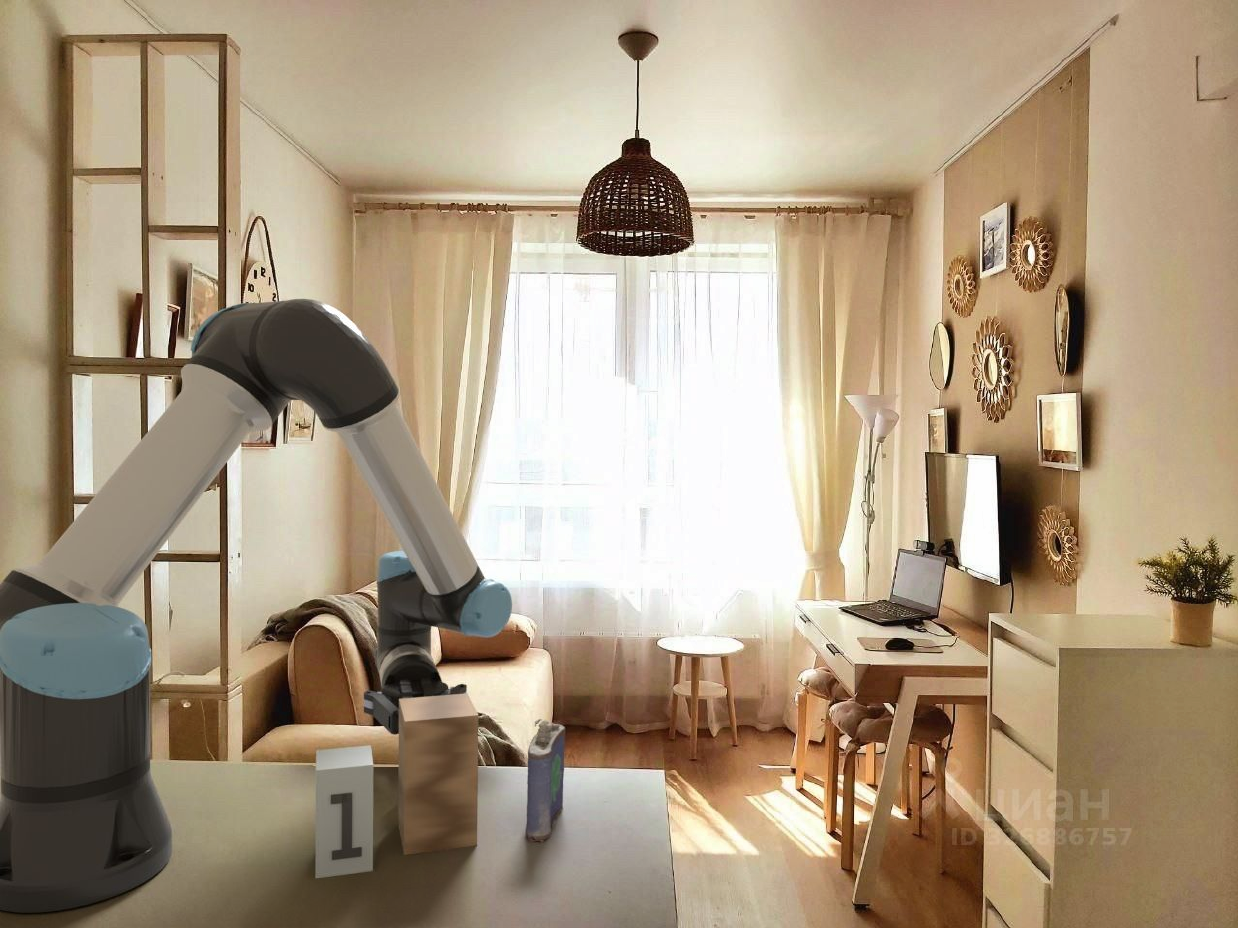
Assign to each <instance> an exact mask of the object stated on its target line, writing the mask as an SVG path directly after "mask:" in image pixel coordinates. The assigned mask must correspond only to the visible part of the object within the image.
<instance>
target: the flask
mask: <svg viewBox="0 0 1238 928" xmlns="http://www.w3.org/2000/svg"><path fill="white" fill-rule="evenodd" d="M537 725H538V727H539V728H538V729H537V732H536V734H535V735H534V736H533V737H532V739H531V741H530V744H529V747H528V749H527V781H526V782H527V783H526V784H527V789H526V790H527V791H526V793H527V796H526V797H527V800H526V826H525V836H526V839H528V841H531V842H536V841H537V842H538V841H539V842H541V843H542V842H544V841H545V840H546V839H549V838H550V836H552V830H553V829H554V828H555V826H556V819H558V818H559V817H558V815H559V814H561V811H562V810H563V809H564V807H563V806H564V805H563V804H564V775H565V741H566V740H565V739H566V727H565V726H564V725H563V724H559V723H554V722H551V723H550V722H549V721H548V720H547V719H541V718H538V719H537V720H535V721H534V727H537Z"/></svg>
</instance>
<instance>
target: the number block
mask: <svg viewBox="0 0 1238 928" xmlns="http://www.w3.org/2000/svg"><path fill="white" fill-rule="evenodd" d="M315 755H316V756H315V879H321V878H328V877H335V876H345V875H352V874H358V873H359V874H360V873H367V872H373V870H374V867H373V865H374V760H373V752H372V745H370V744H369V745H358V746H350V747H349V746H347V747H337V748H328V749H327V748H326V749H316V753H315Z"/></svg>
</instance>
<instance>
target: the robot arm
mask: <svg viewBox="0 0 1238 928" xmlns="http://www.w3.org/2000/svg"><path fill="white" fill-rule="evenodd" d="M190 351H191V357H190V358H189V359H188V360H187V362H186V363H184V366H183V367H181V370H180V376H181V381H182V384H183V388H182V390H181V391H180V392H179V394H178V395H177V396H176V398H175V399H174V400H173V401H172V403H171V404H170V405H169V406H168V407H167V409H166V410H165V411H164V412H163V413H162V414H161V416H159V418H158V419H157V420H156V422H155V423H154V424H153V425H152V427H150V429H149V430H148V432H147V433H145V435H144V436H143V437H142V439H141V440H140V441H139V442H138V444H137V445H136V446H135V447H134V448H133V450H132V451H131V452H130V453H129V454H128V455H127V456H126V457H125V459H124V460H123V461H122V463H121V464H120V465H119V466H118V468H117V469H116V470H115V471H114V472H113V474H112V475H111V476H110V477H109V479H107V480H106V482H105V483H104V484H103V485H102V487H101V488H100V489H99V490H98V492H97V493H96V494H95V495H94V496H93V497H92V498H91V500H90V501H89V503H87V505H86V506H85V507H84V508H83V509H82V511H81V512H80V513H79V515H78V516H77V517H76V518H75V519H74V520H73V522H72V523H71V524H70V525H69V527H67V529H66V530H65V531H64V532H63V534H62V535H61V536H60V538H59V539H58V540H57V541H56V542H55V543H54V544H53V546H52V547H51V548H50V549H49V550H48V552H47V553H46V554H45V556H43V557H42V559H41V560H40V561H38V562H36V563H32V564H26V565H23V566H22V565H21V566H17V567H14V568H13V569H12V570H11V571H10V572H9V573H8V574H7V575H6V577H5V578H4V579H3V580H2V581H1V582H0V791H1V792H0V793H1V794H0V910H1V911H5V912H11V913H23V914H24V913H25V914H27V913H28V914H30V913H31V914H32V913H46V912H56V911H58V912H59V911H64V910H68V909H74V908H78V907H80V908H81V907H82V906H83V907H84V906H87V905H88V906H89V905H92V904H95V903H98V902H101V901H104V900H107V899H110V898H114V897H115V896H118V895H120V894H123V893H125V892H127V891H128V892H129V890H132V889H134V888H136V887H139V886H140V885H141V884H143V883H145V882H147V881H149V880H150V879H151V878H153V877H154V876H156V874H158V873H159V872H160V871H161V870H162V869H163V868H165V866H167V864H168V862H169V861H170V858H171V856H172V853H173V833H172V832H173V830H172V826H171V822H170V820H169V818H168V815H167V812H166V809H165V807H164V805H163V803H162V799H161V797H160V794H159V793H158V789H157V787H156V785H155V781H154V779H153V777H152V773H151V667H152V660H153V659H152V649H151V647H150V642H149V641H150V639H149V632H148V628H147V624H146V623H145V622H144V620H143V619H142V617H140V616H139V615H138V614H135V613H134V612H133V611H130V610H128V609H126V608H124V607H119V604H120V603H121V602H122V600H123V599H124V598H125V596H126V595H127V594H128V593H129V591H130V590H131V588H132V587H133V586H134V584H136V582H137V581H138V579H139V578H140V577H141V576H142V574H143V572H145V570H146V569H147V567H148V566H149V565H150V563H151V562H152V561H153V560H154V558H155V557H156V555H157V554H158V553H159V552H160V551H161V549H162V548H163V547H164V545H165V544H166V542H167V541H168V540H169V539H170V537H171V536H172V535H173V533H175V531H176V529H177V528H178V527H179V525H180V524H181V523H182V521H183V520H184V519H185V517H186V516H187V515H188V514H189V512H190V511H191V510H192V509H193V507H194V506H195V504H196V503H197V502H198V501H199V499H200V498H201V497H202V495H203V494H204V493H205V492H206V490H207V489H208V487H209V486H210V485H211V484H212V482H213V481H214V480H215V478H216V477H217V475H219V473H220V472H221V470H222V469H223V468H224V466H225V465H226V464H227V462H228V461H229V460H230V458H231V457H232V456H233V454H235V452H236V451H237V449H238V448H239V447H240V445H241V444H242V443H243V442H244V440H245V439H246V438H247V436H248V435H249V434H250V433H254V432H255V433H256V432H263V431H268V430H269V429H270V428H271V427H272V426H273V424H274V423H275V421H276V420H277V419H278V417H279V416H280V415H281V413H282V412H283V411H284V409H285V408H286V407H287V405H288V404H289V403H290V402H291V401H301V402H303V403H304V404H305V405H307V406H308V407H309V408H310V409H311V410H313V411H314V413H315V415H316V416H317V418H318V419H319V421H320V423H321V424H322V426H323V428H324V429H325V430H326V431H330V432H334V433H336V434H337V435H338V437H339V438H340V441H341V442H342V444H343V445H344V447H345V449H346V451H347V452H348V455H349V456H350V458H351V459H352V461H353V463H354V465H355V467H356V468H357V470H358V472H359V474H360V476H361V477H362V480H363V481H364V483H365V485H366V486H367V488H368V490H369V491H370V493H371V494H370V495H372V497H373V499H374V500H375V502H376V504H377V506H378V507H379V509H380V512H381V513H382V515H383V516H384V519H385V520H386V522H387V524H388V526H389V528H390V529H391V531H392V533H393V534H394V537H395V539H397V541H398V543H399V546H400V547H401V549H402V550H397V551H395V550H394V551H390V552H386V553H384V554H383V555H381V556H380V557H379V560H378V568H377V569H378V572H377V580H376V582H375V583H376V585H377V630H376V648H375V653H374V655H375V659H374V663H375V664H374V665H375V667H376V668H377V673H378V675H379V676H378V677H379V679H380V687H381V689H380V691H377V692H376V691H373V690H366V691H363V713H364V714H367V715H370V716H372V717H374V718H375V719H376V720H377V721H378V723H379V724H380V725H381V726H382V727H384V728H385V729H386V730H387V732H388V733H390V734H391V735H394V736H395V735H399V699H404V698H416V697H429V696H441V695H454V694H467V691H468V690H467V689H468V687H467V686H468V685H467V684H464V683H460V684H456V685H455V686H450V687H449V685H448V684H447V682H446V683H445V682H443V680H442V677H441V675H440V672H439V670H438V667H437V666H436V662H435V661H434V658H433V656H432V627H434V628H438V629H442V630H445V631H450V632H455V633H457V634H460V635H461V634H462V635H464V636H466V637H472V636H473V637H478V638H479V637H481V638H493V637H495V636H497V635H498V634H499V633H501V632H502V631H503V629H504V628H505V627H506V626H507V625H508V623H509V621H510V618H511V615H512V612H513V611H512V610H513V601H512V594H511V593H510V590H509V589H508V587H507V586H505V585H504V584H502V583H501V582H499V581H496V580H494V579H492V578H491V579H490V578H489V579H487V578H485V576H484V573H483V571H482V570H481V568H480V566H479V564H478V562H477V560H476V558H475V557H474V554H473V552H472V551H471V549H470V546H469V544H468V542H467V541H466V539H465V536H464V534H463V532H462V531H461V529H460V526H459V525H458V522H457V520H456V519H455V517H454V515H453V513H452V511H451V509H450V507H449V504H448V503H447V501H446V499H445V497H444V495H443V493H442V491H441V489H440V487H439V485H438V484H437V481H436V480H435V477H434V474H433V473H432V472H431V469H430V467H429V466H428V463H427V461H426V459H425V458H424V455H423V454H422V451H421V450H420V448H419V446H418V443H417V441H416V440H415V438H414V436H413V434H412V432H411V430H410V428H409V426H408V424H407V422H406V420H405V418H404V417H403V414H402V412H401V411H400V408H399V406H398V404H397V403H398V399H399V397H400V394H401V392H400V390H399V388H398V385H397V384H396V381H395V380H394V378H393V376H392V374H391V372H390V369H388V366H387V365H386V363H385V362H384V360H383V358H382V357H381V355H380V354H379V352H378V351H377V349H376V348H375V346H374V345H373V344H372V343H371V341H370V340H369V339H368V337H367V336H366V335H365V333H364V332H363V331H362V329H360V328H359V326H357V325H356V323H354V322H353V321H352V320H351V319H350V318H349V317H348V316H347V315H345V314H344V313H342V311H340V310H339V309H336V308H335V307H333V306H331V305H330V304H327V303H324V302H322V301H319V300H316V299H311V298H310V299H309V298H295V299H287V300H280V301H278V300H277V301H276V300H275V301H266V302H265V301H264V302H246V303H245V302H244V303H243V302H241V303H238V304H234V305H231V306H229V307H225V308H223V309H221V310H218V311H216V312H214V313H212V314H211V315H210V316H208V317H207V318H205V319H204V320H203V321H202V323H201V324H200V325H199V327H198V328H197V330H196V331H195V333H194V336H193V338H192V340H191V344H190Z"/></svg>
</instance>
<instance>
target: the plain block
mask: <svg viewBox="0 0 1238 928" xmlns="http://www.w3.org/2000/svg"><path fill="white" fill-rule="evenodd" d="M397 769H398V770H397V771H398V777H397V778H398V781H397V782H398V785H397V787H398V790H397V792H398V795H397V796H398V799H397V800H398V802H397V805H398V806H397V811H398V812H397V819H398V820H397V823H398V830H399V836H400V839H401V840H400V841H401V845H402V851H403V856H405V855H407V856H408V855H414V854H421V853H428V852H437V851H445V850H451V849H458V848H459V849H460V848H466V847H474V846H478V804H479V803H478V802H479V801H478V797H479V796H478V795H479V794H478V792H479V791H478V790H479V789H478V787H479V786H478V785H479V782H478V781H479V713H478V711H477V709H476V708H475V706H474V704H473V701H472V700H471V697H470V695H469V694H468V693H467V694H454V695H441V696H429V697H416V698H404V699H399V734H398V768H397Z"/></svg>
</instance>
